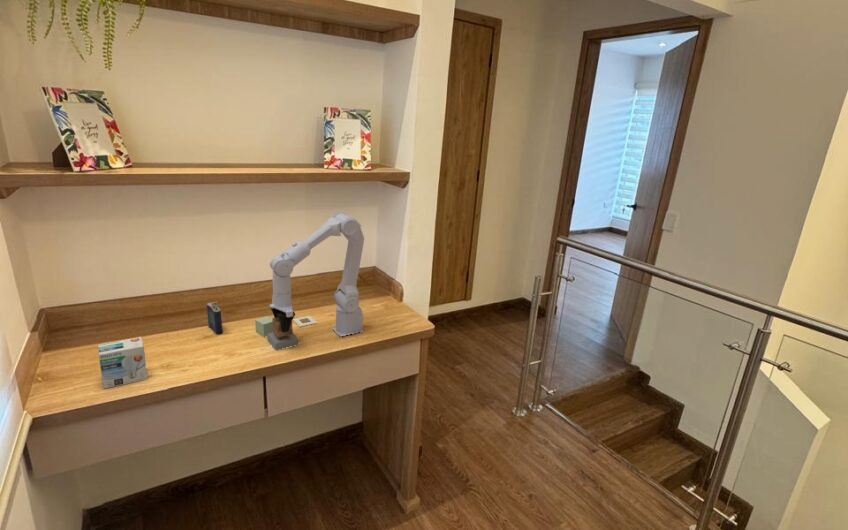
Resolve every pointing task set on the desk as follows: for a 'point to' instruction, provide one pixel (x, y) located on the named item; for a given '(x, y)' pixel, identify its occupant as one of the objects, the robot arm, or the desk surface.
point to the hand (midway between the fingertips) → (282, 328)
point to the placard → (304, 321)
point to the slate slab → (282, 340)
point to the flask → (214, 318)
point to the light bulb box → (122, 362)
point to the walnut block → (278, 330)
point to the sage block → (264, 326)
